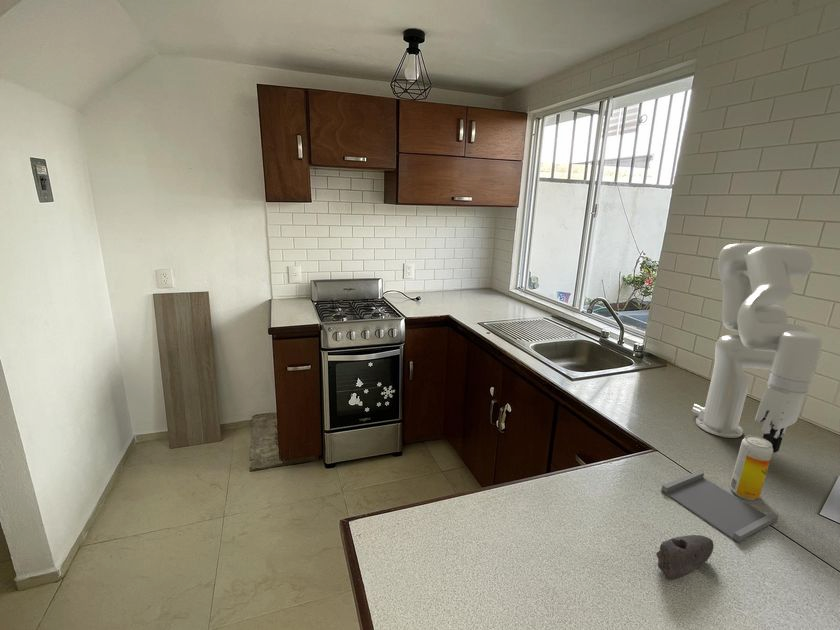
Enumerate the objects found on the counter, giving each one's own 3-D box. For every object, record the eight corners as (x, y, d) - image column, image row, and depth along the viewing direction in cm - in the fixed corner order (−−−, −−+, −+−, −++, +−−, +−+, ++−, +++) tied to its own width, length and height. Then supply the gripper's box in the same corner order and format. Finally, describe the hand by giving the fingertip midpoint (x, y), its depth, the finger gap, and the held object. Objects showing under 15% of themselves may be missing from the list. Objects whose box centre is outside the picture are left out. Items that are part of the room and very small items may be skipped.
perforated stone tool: (697, 547, 89) (704, 520, 87) (721, 567, 84) (729, 539, 83) (644, 567, 84) (650, 539, 82) (667, 590, 79) (674, 560, 77)
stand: (661, 491, 106) (662, 485, 105) (698, 475, 112) (699, 470, 112) (738, 543, 90) (740, 536, 90) (776, 522, 97) (778, 515, 96)
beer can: (765, 501, 103) (781, 448, 99) (740, 501, 103) (755, 448, 99) (747, 485, 109) (761, 434, 105) (723, 484, 109) (737, 434, 105)
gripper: (786, 371, 107) (768, 435, 112) (753, 381, 100) (735, 448, 105) (823, 383, 100) (802, 450, 105) (790, 394, 94) (770, 465, 99)
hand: (769, 449), depth 105 cm, fingers closed
